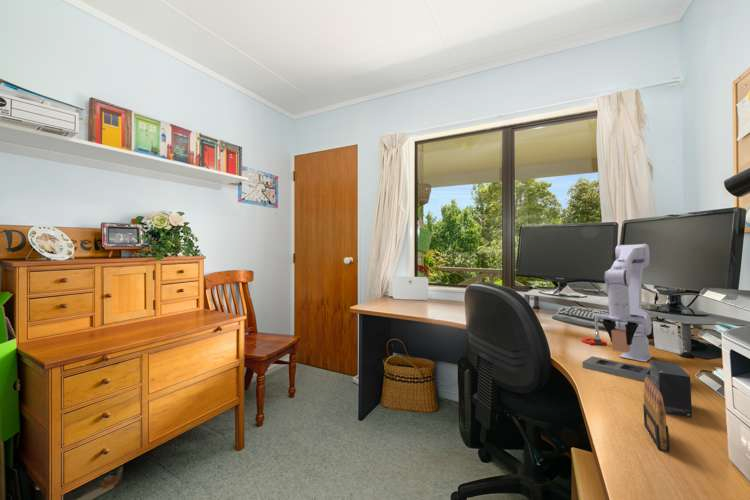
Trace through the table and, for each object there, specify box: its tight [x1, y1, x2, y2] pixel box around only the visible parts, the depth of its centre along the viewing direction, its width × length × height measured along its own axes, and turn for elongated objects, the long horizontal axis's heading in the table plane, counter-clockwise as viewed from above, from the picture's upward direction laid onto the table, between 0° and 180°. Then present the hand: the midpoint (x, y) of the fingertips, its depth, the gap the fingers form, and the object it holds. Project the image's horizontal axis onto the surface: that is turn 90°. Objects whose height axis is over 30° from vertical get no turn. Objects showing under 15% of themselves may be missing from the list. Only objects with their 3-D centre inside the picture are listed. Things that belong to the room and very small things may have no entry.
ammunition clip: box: [642, 376, 671, 453], centre depth 69 cm, size 11×2×12 cm, turn 151°
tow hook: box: [581, 319, 608, 346], centre depth 142 cm, size 8×13×9 cm
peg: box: [611, 327, 631, 353], centre depth 108 cm, size 4×4×7 cm
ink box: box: [652, 320, 685, 355], centre depth 126 cm, size 3×9×12 cm, turn 13°
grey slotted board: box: [581, 356, 651, 383], centre depth 104 cm, size 9×26×2 cm, turn 37°
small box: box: [649, 359, 693, 419], centre depth 82 cm, size 11×6×10 cm, turn 148°
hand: (621, 343), depth 108 cm, fingers closed on peg, 4 cm apart
